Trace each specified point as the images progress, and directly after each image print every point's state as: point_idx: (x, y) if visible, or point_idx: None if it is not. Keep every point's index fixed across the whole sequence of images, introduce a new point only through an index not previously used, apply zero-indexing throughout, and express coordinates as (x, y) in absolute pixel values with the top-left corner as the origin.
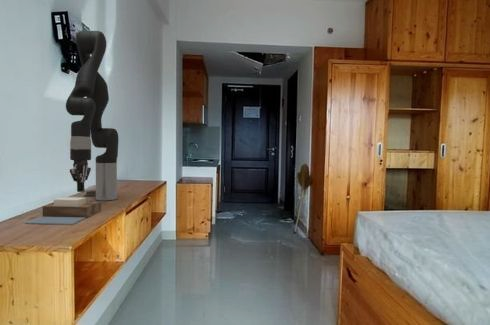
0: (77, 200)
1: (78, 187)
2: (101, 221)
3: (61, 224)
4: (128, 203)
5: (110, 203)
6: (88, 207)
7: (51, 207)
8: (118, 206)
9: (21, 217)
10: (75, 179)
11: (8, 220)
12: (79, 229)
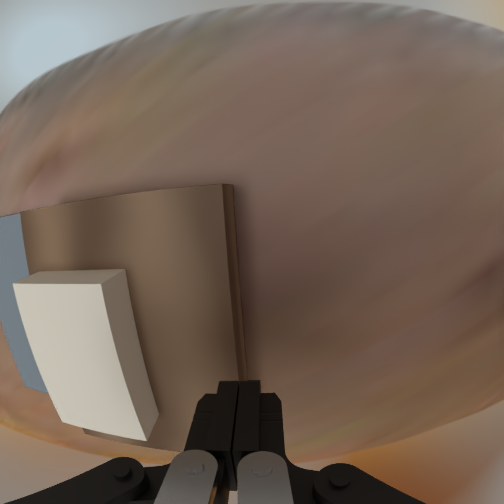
0: (61, 417)
1: (196, 426)
2: (95, 448)
3: (14, 352)
4: (461, 417)
5: (478, 348)
6: (103, 435)
7: (31, 265)
8: (395, 423)
9: (51, 106)
10: (111, 486)
11: (11, 109)
12: (15, 410)
